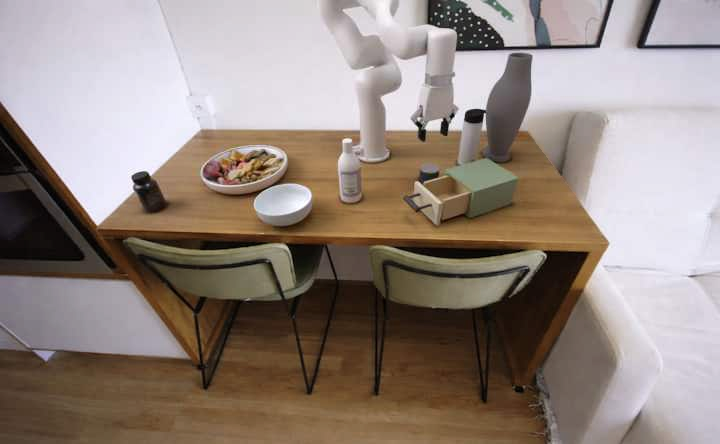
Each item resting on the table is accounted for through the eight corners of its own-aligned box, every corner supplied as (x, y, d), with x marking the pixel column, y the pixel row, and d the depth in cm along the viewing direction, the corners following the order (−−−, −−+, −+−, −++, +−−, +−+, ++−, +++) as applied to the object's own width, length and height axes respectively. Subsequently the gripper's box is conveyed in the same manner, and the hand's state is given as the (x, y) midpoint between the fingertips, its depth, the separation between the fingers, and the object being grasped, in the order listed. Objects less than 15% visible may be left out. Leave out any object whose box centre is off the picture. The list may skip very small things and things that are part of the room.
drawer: (419, 230, 95) (421, 209, 90) (397, 207, 104) (398, 186, 100) (478, 211, 101) (482, 190, 96) (452, 190, 110) (455, 170, 105)
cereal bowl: (311, 197, 112) (308, 179, 108) (318, 228, 99) (315, 209, 95) (258, 206, 109) (253, 188, 105) (259, 239, 97) (253, 220, 92)
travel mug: (476, 169, 122) (487, 114, 109) (457, 168, 123) (465, 113, 110) (475, 160, 126) (485, 107, 114) (457, 159, 128) (464, 106, 115)
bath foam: (365, 199, 110) (363, 142, 97) (345, 206, 107) (341, 147, 95) (356, 189, 115) (353, 133, 102) (337, 195, 112) (331, 138, 100)
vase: (471, 153, 131) (488, 54, 109) (494, 144, 136) (515, 47, 114) (499, 167, 122) (524, 62, 100) (522, 156, 127) (551, 54, 105)
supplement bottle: (142, 205, 113) (125, 174, 105) (164, 198, 116) (149, 167, 108) (146, 215, 108) (129, 183, 101) (169, 207, 111) (153, 175, 104)
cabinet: (469, 218, 100) (474, 191, 94) (441, 194, 110) (445, 169, 104) (511, 203, 105) (518, 177, 99) (481, 182, 115) (486, 157, 109)
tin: (421, 186, 115) (422, 173, 111) (417, 176, 120) (418, 163, 117) (440, 184, 115) (442, 171, 112) (435, 174, 120) (437, 162, 117)
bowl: (271, 149, 141) (267, 131, 136) (303, 179, 121) (299, 159, 116) (196, 172, 129) (189, 153, 124) (218, 209, 109) (210, 189, 104)
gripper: (455, 71, 102) (448, 127, 113) (404, 80, 97) (402, 138, 108) (472, 77, 96) (463, 136, 107) (418, 87, 91) (415, 148, 102)
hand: (432, 137), depth 107 cm, fingers open, 7 cm apart
